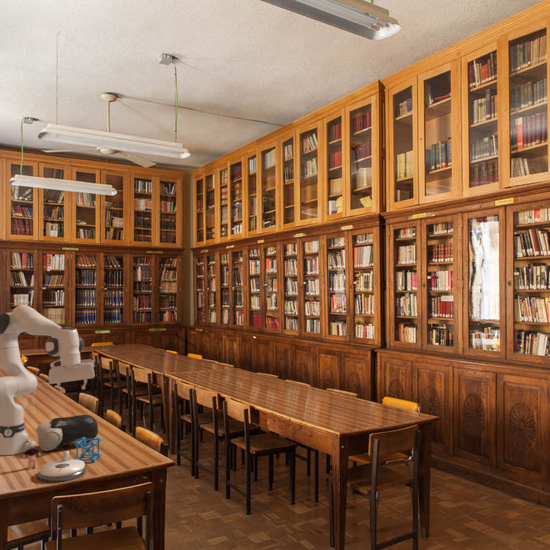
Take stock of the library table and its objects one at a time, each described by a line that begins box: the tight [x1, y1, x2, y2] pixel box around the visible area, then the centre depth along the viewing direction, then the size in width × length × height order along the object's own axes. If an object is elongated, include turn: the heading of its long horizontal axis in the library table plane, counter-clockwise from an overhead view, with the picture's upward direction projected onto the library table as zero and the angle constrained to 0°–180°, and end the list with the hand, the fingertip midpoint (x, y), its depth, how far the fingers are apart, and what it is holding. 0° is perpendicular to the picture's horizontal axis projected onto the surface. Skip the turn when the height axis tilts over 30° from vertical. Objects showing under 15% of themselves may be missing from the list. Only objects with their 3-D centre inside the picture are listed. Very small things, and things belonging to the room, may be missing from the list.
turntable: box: [38, 450, 86, 477], centre depth 237 cm, size 19×19×6 cm
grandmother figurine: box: [22, 440, 42, 471], centre depth 245 cm, size 8×4×13 cm, turn 139°
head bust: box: [35, 414, 99, 453], centre depth 279 cm, size 22×17×30 cm
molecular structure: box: [74, 436, 102, 464], centre depth 257 cm, size 10×10×10 cm
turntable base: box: [37, 465, 87, 483], centre depth 237 cm, size 20×20×2 cm
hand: (72, 391), depth 245 cm, fingers open, 8 cm apart
